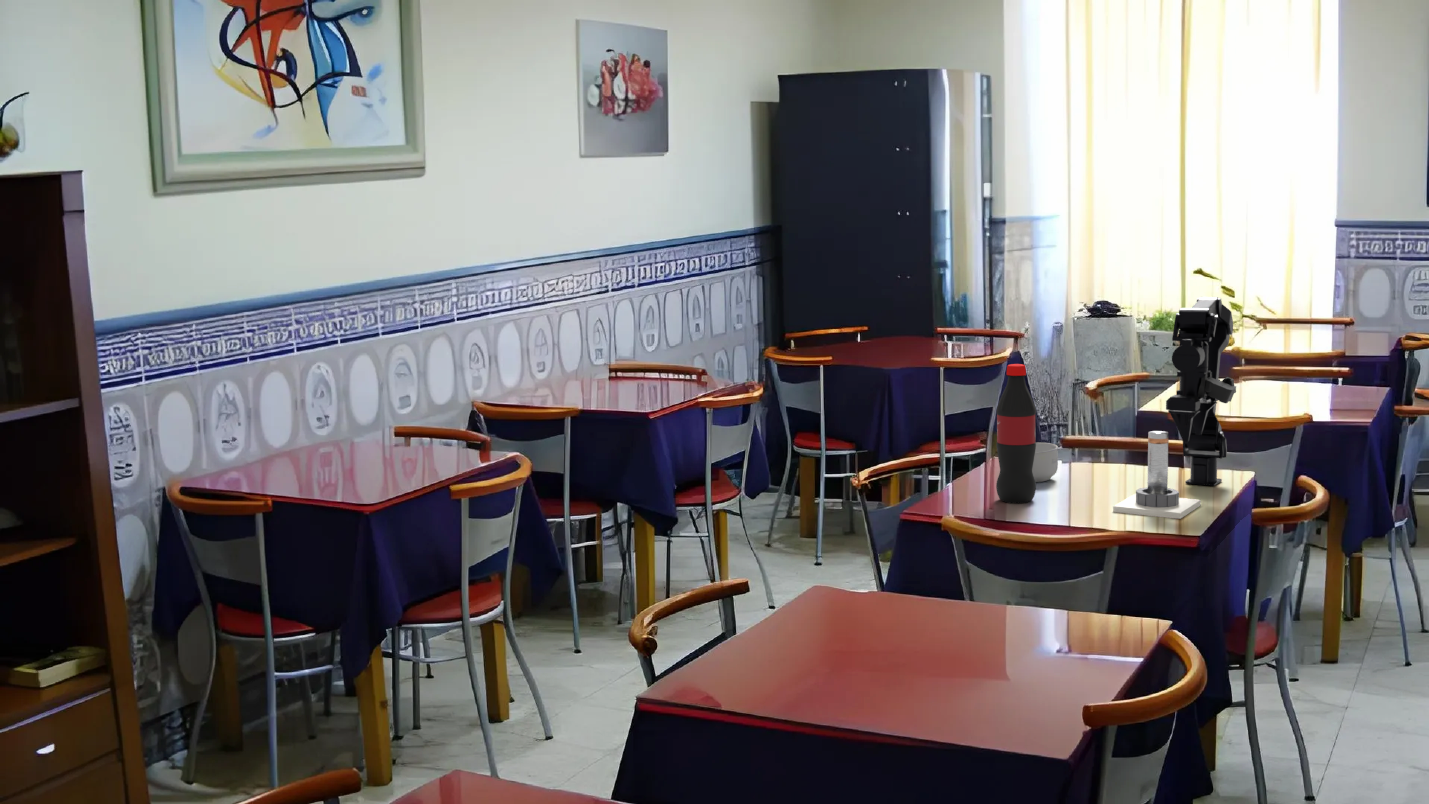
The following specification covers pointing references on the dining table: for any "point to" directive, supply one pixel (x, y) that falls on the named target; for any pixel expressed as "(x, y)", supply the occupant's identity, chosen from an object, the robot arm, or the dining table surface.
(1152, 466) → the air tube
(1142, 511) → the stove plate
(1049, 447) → the teacup
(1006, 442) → the cola bottle
